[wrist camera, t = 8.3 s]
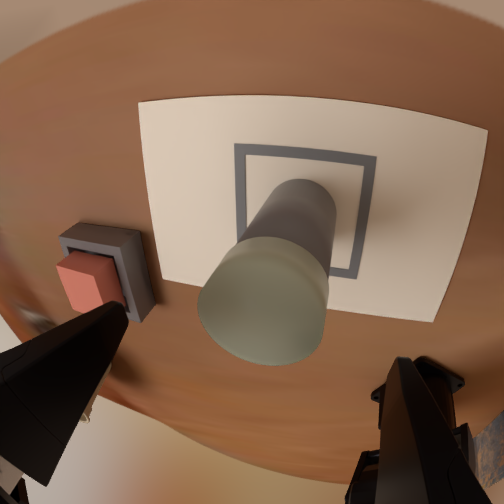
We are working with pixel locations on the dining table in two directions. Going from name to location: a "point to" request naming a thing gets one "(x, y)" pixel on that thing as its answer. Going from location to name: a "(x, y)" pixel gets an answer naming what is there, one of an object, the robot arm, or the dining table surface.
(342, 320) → the dining table surface
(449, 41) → the dining table surface
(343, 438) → the dining table surface
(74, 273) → the button
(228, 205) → the paper sheet
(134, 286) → the button housing
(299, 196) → the grey cylinder
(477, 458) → the bent metal bracket
